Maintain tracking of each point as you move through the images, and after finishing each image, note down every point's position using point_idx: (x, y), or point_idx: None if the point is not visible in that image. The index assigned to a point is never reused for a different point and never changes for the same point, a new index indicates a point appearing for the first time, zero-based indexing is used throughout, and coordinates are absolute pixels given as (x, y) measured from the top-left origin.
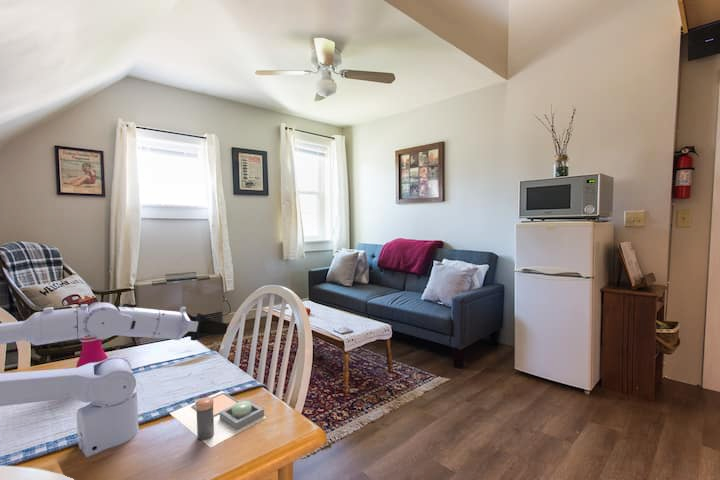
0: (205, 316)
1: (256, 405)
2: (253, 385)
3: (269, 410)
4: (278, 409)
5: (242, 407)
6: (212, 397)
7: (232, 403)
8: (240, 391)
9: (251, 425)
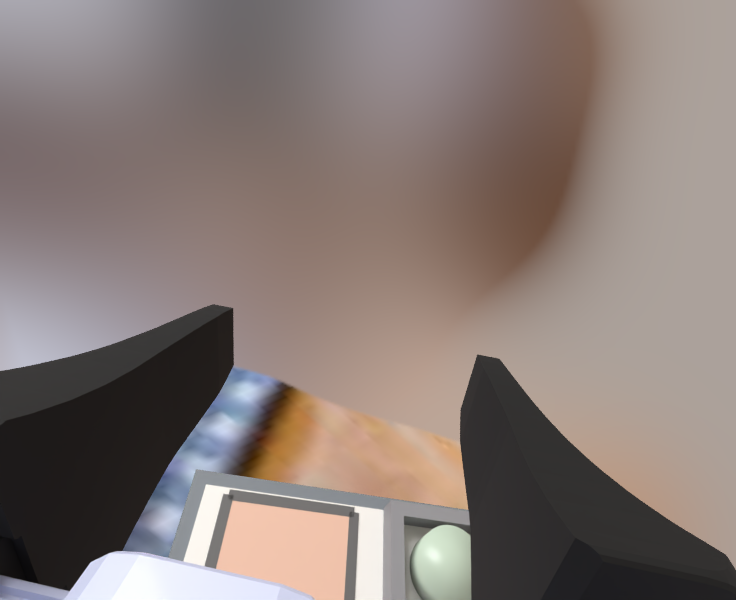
0: (668, 521)
1: (453, 512)
2: (263, 387)
3: (436, 476)
4: (451, 458)
5: (465, 570)
6: (212, 545)
7: (329, 529)
8: (253, 436)
9: None
